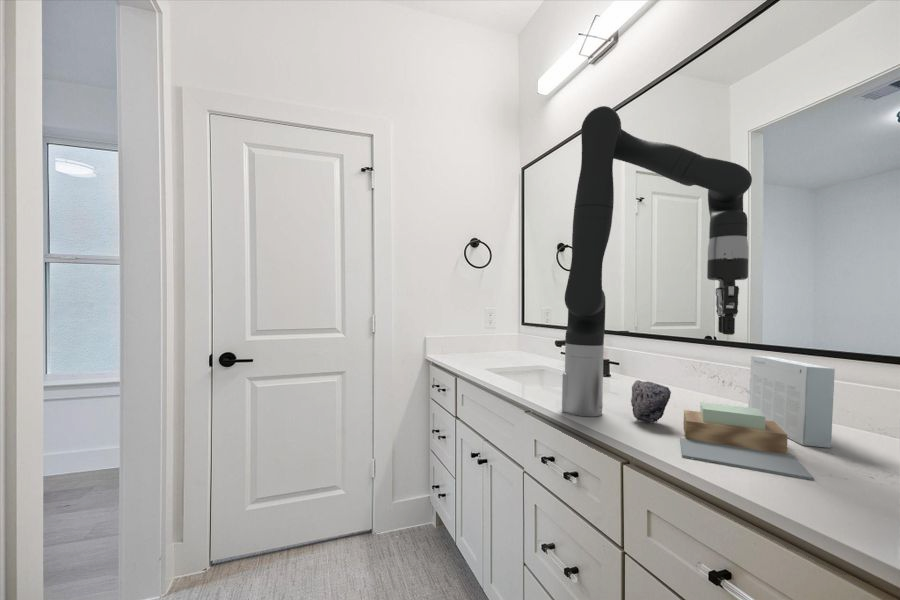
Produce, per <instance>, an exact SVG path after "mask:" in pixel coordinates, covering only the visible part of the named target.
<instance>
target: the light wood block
mask: <svg viewBox="0 0 900 600" xmlns="http://www.w3.org/2000/svg"><path fill="white" fill-rule="evenodd" d="M683 432H684V438H685V439H691V440H698V441H704V442H711V443H717V444H723V445H730V446H736V447H742V448H749V449H755V450H762V451H768V452H774V453H781V454H787V455H788V438H787V434H786V433H785V432H784V431H783V430H782V429H781V428H780V427H779V426H778V425H777V424H776V423H775V422H774V421H767V420H765V430H763V429H755V428H748V427H741V426H733V425H726V424H719V423H711V422H704V421H703V420H702V417H701V414H700V411H695V410H694V411H693V410H688V409H687V410H686V409H683Z"/></svg>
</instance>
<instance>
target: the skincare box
mask: <svg viewBox="0 0 900 600" xmlns="http://www.w3.org/2000/svg"><path fill="white" fill-rule="evenodd" d="M749 370H750V375H749V376H750V377H749V388H748V389H749V390H748V395H749V398H748V407H747V408H756V409H758V410H759V411H760V412H761V413H762V414H763V415H764V416H765V420H767V421H774V422H775V423H776V424H777V425H778V426H779V427H780V428H781V429H782V430H783V431H784V432H785V433H786V434H787V439H790V440H791V441H794V442H795V443H797V444H799V445H802V446H807V447H819V448H827V449H828V448H830V449H831V448H832V438H833V437H832V433H833V432H832V431H833V411H834V410H833V409H834V392H835V391H834V390H835V373H836V372H835V371H836V369H835V368H832V367H827V366H823V365H818V364H814V363H813V364H812V363H809V362H801V361H797V360H791V359H787V358H780V357H776V356H767V355H766V356H763V355H753V354H751V355H750V369H749Z"/></svg>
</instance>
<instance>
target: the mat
mask: <svg viewBox="0 0 900 600" xmlns="http://www.w3.org/2000/svg"><path fill="white" fill-rule="evenodd" d="M679 442H680V450H681V451H680V452H681V458H684V457H687V458H686V459H690V458H693V459H692V460H695V459H698V460H697V461H701V460H703V461H702V462H707V461H709V462H708V463H712V462H715V463H714V464H718V463H720V464H719V465H724V466H731V467H735V468H741V469H746V470H747V469H748V470H752V471H758V472H765V473H769V474H774V475H775V474H776V475H780V476H781V475H782V476H787V477H793V478H797V479H798V478H799V479H803V480H804V479H805V480H808V481H809V480H810V481H815V477H814V476H813V475H812V473H811V472H810V471H809V470H808V469H807V468H806V467H805V466H804V465H803V463H802V462H801V461H800V460H799V459H798V458H797V457H796V456H795V455H793V454H788V453H787V454H781V453H774V452H768V451H762V450H755V449H749V448H742V447H736V446H730V445H723V444H717V443H711V442H704V441H698V440H691V439H685V437H679Z"/></svg>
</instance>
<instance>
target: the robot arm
mask: <svg viewBox="0 0 900 600" xmlns="http://www.w3.org/2000/svg"><path fill="white" fill-rule="evenodd" d="M580 131H581V132H580V136H581V163H580V172H579V176H578V182H577V188H576V194H575V202H574V209H573V216H572V217H573V219H572V234H571V235H572V236H571V262H570V268H569V274H568V279H567V284H566V288H565V293H564V304H565V307H566V308H567V325H566V331H565V337H564V338H565V344H564V345H565V349H564V351H565V353H564V372H563V373H562V384H561V385H562V388H561V390H562V391H561V393H562V394H561V412H564V413H567V414H570V415H575V416H581V417H598V416H601V415H603V401H604V400H603V397H604V395H603V394H604V392H603V390H604V348H605V347H604V346H605V345H604V344H605V343H604V342H605V341H604V340H605V332H606V331H605V330H606V329H605V328H606V327H605V326H606V294H605V292H604V290H603V262H604V257H605V253H606V249H607V246H608V243H609V240H610V235H611V229H612V224H613V212H614V203H615V202H614V199H615V195H614V194H615V193H614V192H615V191H614V189H615V188H614V186H615V185H614V175H613V174H614V172H613V170H614V169H613V167H614V160H617V161H622V162H625V163H628V164H632V165H634V166H637V167H640V168H643V169H645V170H647V171H651V172H652V173H655V174H657V175H659V176H662V177H663V178H667V179H669V180H671V181H674V182H676V183H679V184H681V185H684V186H687V187H692V186H697V187H700V188H703V189H706V190H707V202H708V212H709V231H708V232H709V233H708V234H709V235H708V238H709V241H708V246H707V262H706V263H707V265H706V267H707V271H706V273H707V274H706V278H707V279H708V280H710V281H718V282H719V283H718V284H719V286H718V287H717V288H715V292H714V293H715V297H716V299H715V305H716V315H717V316H718V330H717V331H718V332H719V334H723V335H730V336H733V335H734V334H735V327H736V325H735V324H736V316H737V315H738V313H739V310H738V306H739V295H740V287H739V286H738V285H736V281H744V280H747V279H748V278H749V241H748V227H749V225H748V215H747V213H746V212H744V194H746V192H747V191H748V190H749V189H750V188H751V186H752V183H753V182H752V181H753V177H752V174H751V173H750V171H749V170H748V169H747V168H746V167H744V166H742V165H741V164H737V163H736V162H732V161H727V160H722V159H717V158H713V157H707V156H704V155H701V154H699V153H696V152H694V151H692V150H689V149H686V148H683V147H681V146H678V145H676V144H675V145H674V144H671V143H665V142H658V141H657V142H655V141H651V140H650V141H649V140H647V139H646V140H645V139H642V138H640V137H637V136H634V135H632V134H631V133H629V132H627V131H625V130H624V129H622V121H621V118H620V115H619V114H618V113H617V111H616V110H615V109H613V108H611V107H609V106H607V105H600V106H597V107H595V108H593V109H592V110H590V112H588V114H587V115H586V116H585V117H584V119H583V122H582V123H581V129H580Z"/></svg>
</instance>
